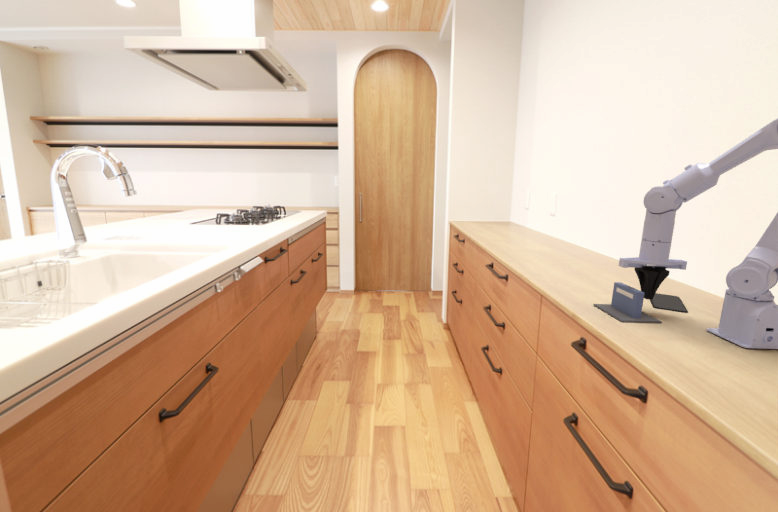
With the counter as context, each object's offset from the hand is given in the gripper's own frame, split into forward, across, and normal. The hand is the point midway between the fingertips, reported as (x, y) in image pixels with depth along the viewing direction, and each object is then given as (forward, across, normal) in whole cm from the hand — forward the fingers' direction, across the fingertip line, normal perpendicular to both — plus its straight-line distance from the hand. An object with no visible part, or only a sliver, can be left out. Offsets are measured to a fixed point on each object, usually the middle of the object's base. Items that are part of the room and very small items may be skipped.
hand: (647, 298), depth 94 cm
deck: (+3, +5, 0) cm, 6 cm away
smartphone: (+4, -12, -10) cm, 17 cm away
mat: (+4, +5, 0) cm, 6 cm away
